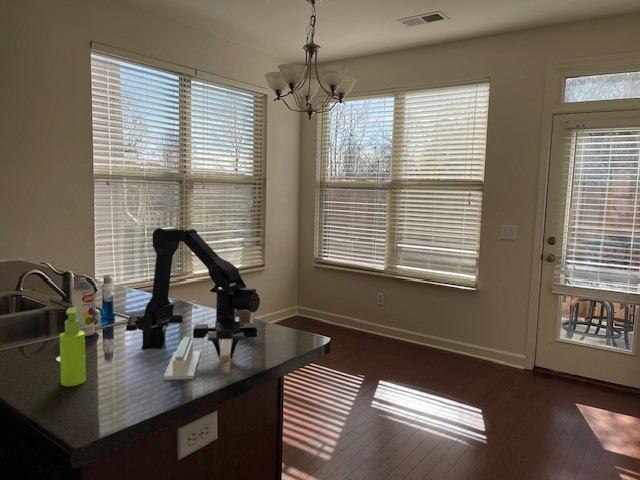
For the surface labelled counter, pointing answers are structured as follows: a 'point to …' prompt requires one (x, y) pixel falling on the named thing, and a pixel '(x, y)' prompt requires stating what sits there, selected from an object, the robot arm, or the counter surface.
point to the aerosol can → (84, 306)
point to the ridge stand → (183, 361)
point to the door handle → (135, 319)
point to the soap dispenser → (72, 352)
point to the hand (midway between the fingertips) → (225, 358)
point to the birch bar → (225, 356)
